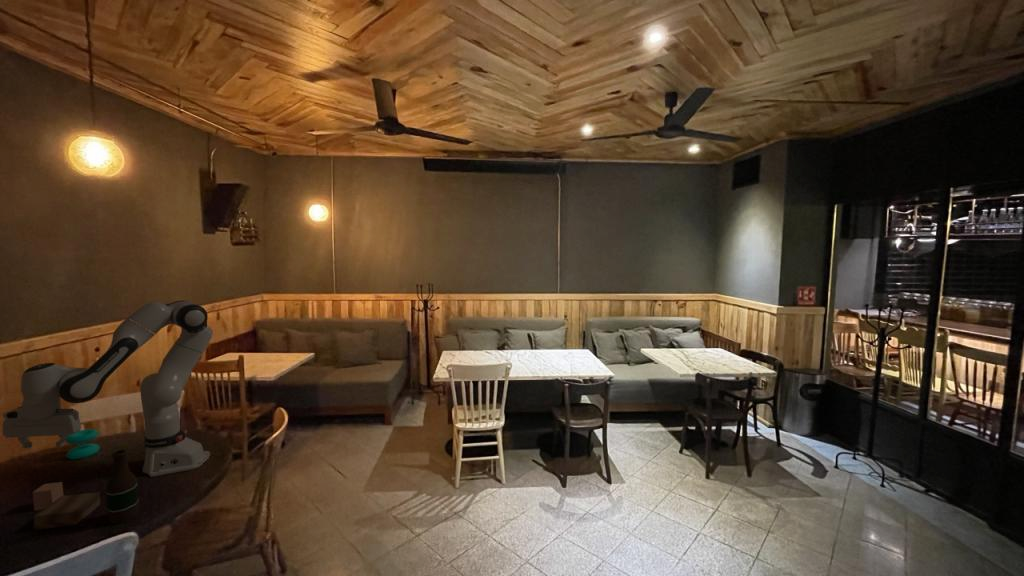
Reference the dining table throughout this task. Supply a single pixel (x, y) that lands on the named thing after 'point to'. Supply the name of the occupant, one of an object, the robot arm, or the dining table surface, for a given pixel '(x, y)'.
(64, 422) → the robot arm
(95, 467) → the dining table surface
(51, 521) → the walnut block
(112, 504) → the beer bottle
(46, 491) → the terracotta block
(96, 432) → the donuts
